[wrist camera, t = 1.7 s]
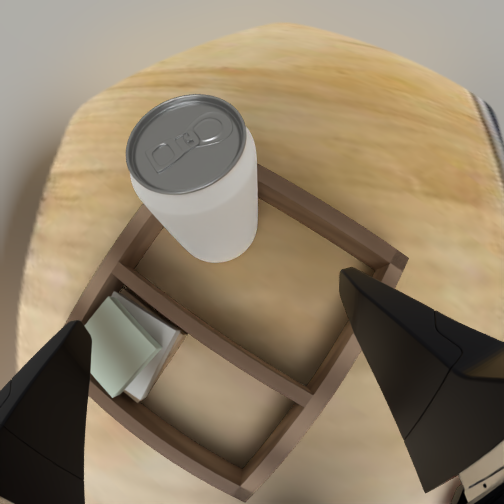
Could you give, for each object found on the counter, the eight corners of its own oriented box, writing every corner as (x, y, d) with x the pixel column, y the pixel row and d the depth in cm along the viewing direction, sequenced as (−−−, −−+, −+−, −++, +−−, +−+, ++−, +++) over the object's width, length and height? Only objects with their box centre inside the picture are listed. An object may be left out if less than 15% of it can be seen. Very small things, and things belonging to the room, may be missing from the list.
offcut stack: (147, 401, 20) (126, 414, 16) (90, 352, 21) (64, 355, 17) (191, 335, 22) (178, 337, 18) (130, 287, 23) (107, 280, 19)
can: (274, 234, 23) (286, 150, 12) (205, 280, 23) (151, 234, 11) (230, 175, 25) (210, 71, 13) (165, 216, 24) (101, 134, 12)
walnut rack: (246, 484, 18) (245, 502, 16) (68, 353, 21) (49, 354, 18) (392, 266, 23) (408, 258, 20) (205, 153, 25) (199, 134, 23)
